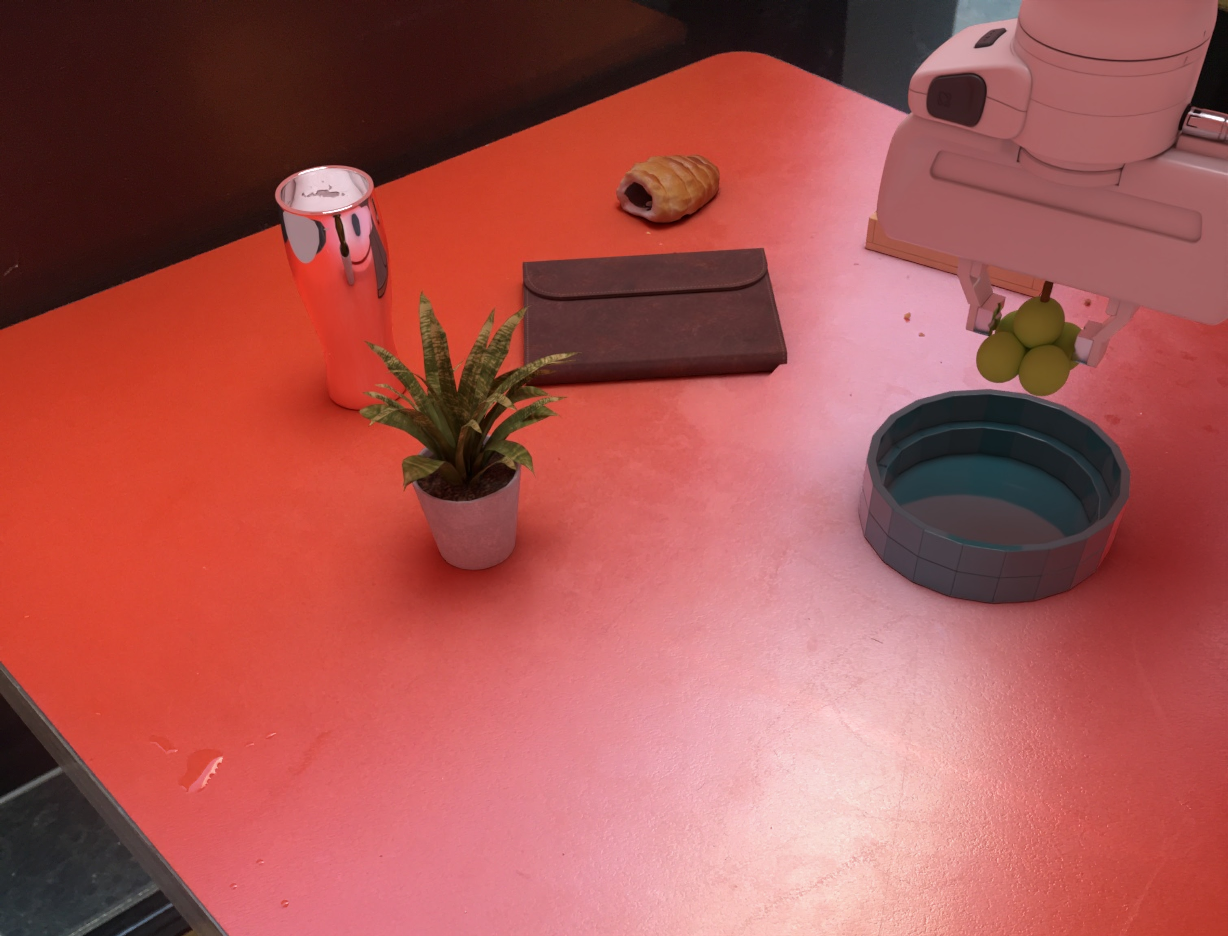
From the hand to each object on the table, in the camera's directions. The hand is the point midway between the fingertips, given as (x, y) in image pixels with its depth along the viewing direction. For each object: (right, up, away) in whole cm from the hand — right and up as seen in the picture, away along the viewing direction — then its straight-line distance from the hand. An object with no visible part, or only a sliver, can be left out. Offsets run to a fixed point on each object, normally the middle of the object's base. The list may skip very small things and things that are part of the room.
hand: (1032, 344), depth 71 cm
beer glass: (-43, +5, +23) cm, 49 cm away
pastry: (-20, +27, +38) cm, 50 cm away
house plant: (-33, -10, +11) cm, 36 cm away
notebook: (-21, +12, +26) cm, 36 cm away
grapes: (0, -1, +1) cm, 2 cm away
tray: (+7, +21, +32) cm, 39 cm away
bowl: (0, -8, +11) cm, 13 cm away
